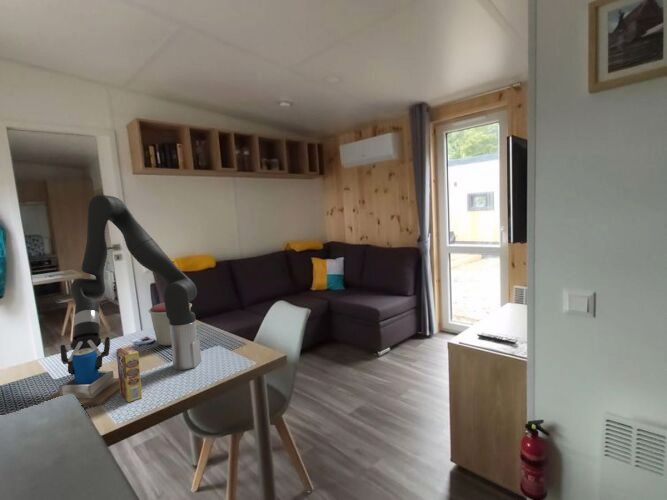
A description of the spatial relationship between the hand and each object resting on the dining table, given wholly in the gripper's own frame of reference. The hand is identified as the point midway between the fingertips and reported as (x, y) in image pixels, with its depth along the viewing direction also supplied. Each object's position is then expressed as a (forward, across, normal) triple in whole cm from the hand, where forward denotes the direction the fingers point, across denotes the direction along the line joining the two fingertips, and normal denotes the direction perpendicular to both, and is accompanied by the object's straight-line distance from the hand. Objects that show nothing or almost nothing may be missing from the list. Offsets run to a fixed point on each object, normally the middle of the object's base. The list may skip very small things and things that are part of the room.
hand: (85, 370), depth 111 cm
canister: (-21, +28, +33) cm, 48 cm away
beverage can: (+3, 0, +5) cm, 6 cm away
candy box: (+12, +13, 0) cm, 17 cm away
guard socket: (+5, 0, +7) cm, 8 cm away
